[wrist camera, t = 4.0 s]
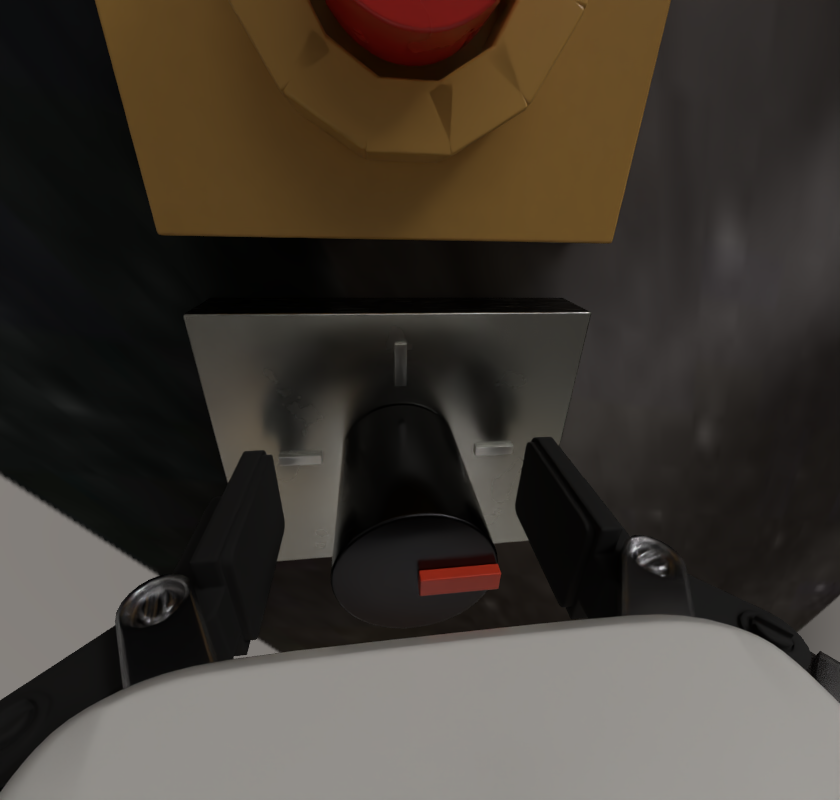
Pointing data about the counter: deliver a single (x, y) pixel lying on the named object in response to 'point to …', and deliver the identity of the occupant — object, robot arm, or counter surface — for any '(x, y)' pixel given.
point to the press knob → (412, 26)
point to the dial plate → (383, 389)
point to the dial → (408, 523)
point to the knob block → (383, 121)
